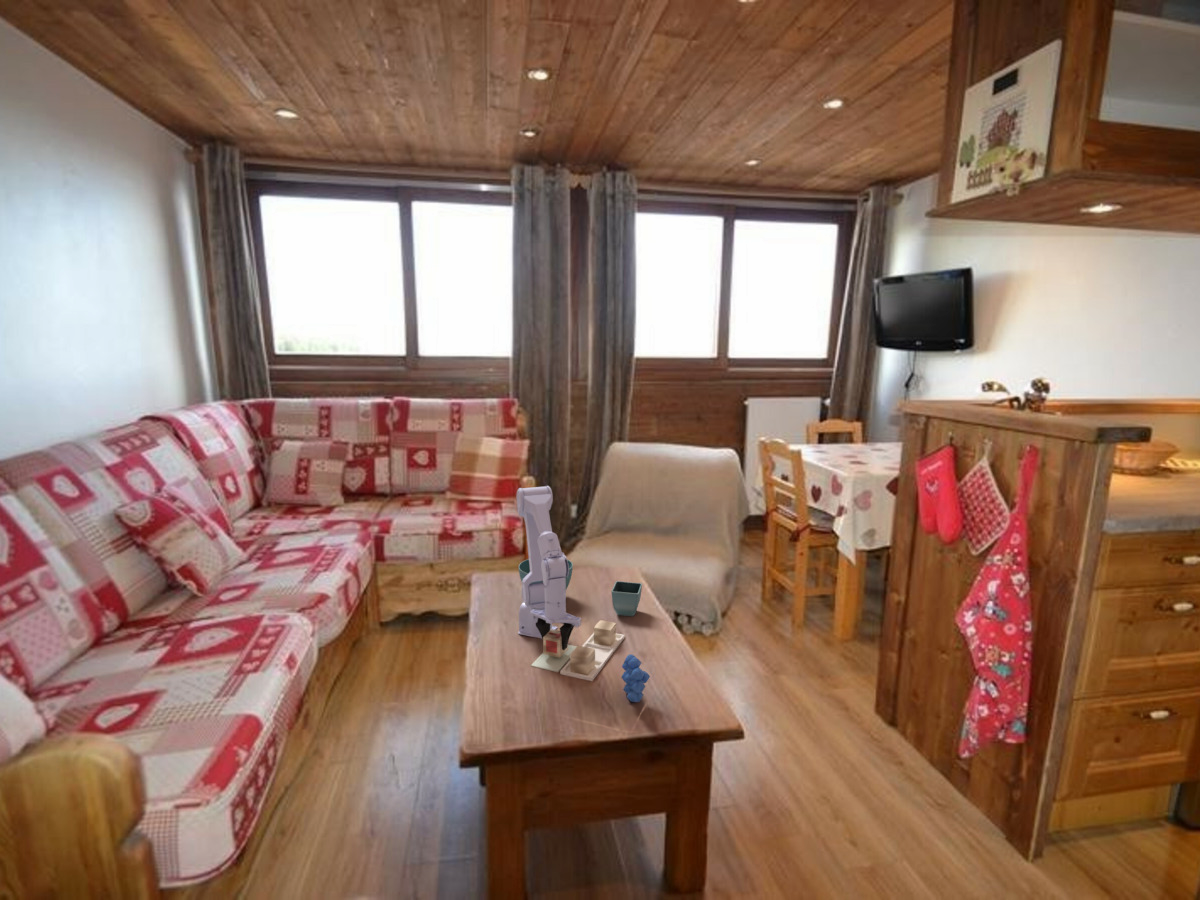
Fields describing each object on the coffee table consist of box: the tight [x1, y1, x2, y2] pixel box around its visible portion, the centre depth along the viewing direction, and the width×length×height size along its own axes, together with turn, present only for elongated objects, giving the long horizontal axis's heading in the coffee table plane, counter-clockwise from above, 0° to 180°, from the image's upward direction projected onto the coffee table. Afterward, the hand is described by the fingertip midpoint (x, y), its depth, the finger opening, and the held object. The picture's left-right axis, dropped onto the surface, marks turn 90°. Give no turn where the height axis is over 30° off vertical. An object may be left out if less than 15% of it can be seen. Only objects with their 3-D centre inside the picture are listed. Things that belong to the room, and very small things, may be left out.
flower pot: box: [611, 580, 643, 617], centre depth 192 cm, size 9×9×9 cm
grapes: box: [621, 653, 651, 703], centre depth 144 cm, size 12×7×12 cm, turn 14°
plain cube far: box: [593, 619, 617, 647], centre depth 173 cm, size 5×5×5 cm
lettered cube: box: [542, 629, 568, 658], centre depth 164 cm, size 5×5×5 cm
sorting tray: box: [559, 632, 626, 682], centre depth 166 cm, size 9×25×1 cm, turn 158°
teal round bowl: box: [518, 558, 574, 590], centre depth 202 cm, size 18×18×12 cm
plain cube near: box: [569, 645, 595, 676], centre depth 158 cm, size 5×5×5 cm
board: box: [530, 644, 578, 673], centre depth 165 cm, size 8×14×1 cm, turn 158°
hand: (555, 646), depth 164 cm, fingers closed on lettered cube, 5 cm apart
